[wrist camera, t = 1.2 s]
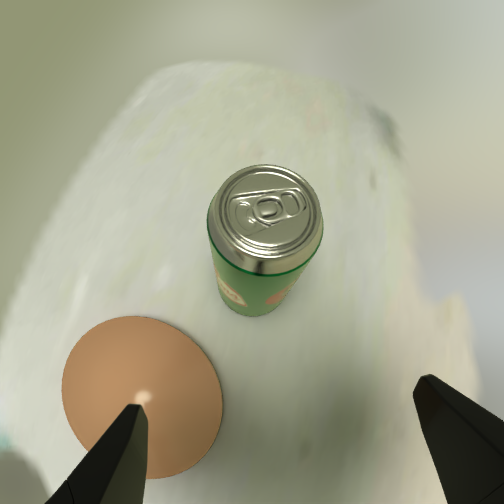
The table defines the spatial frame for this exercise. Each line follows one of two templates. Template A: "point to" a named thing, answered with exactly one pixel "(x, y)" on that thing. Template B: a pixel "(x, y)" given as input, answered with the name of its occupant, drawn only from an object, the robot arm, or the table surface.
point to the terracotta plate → (144, 389)
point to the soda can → (262, 236)
